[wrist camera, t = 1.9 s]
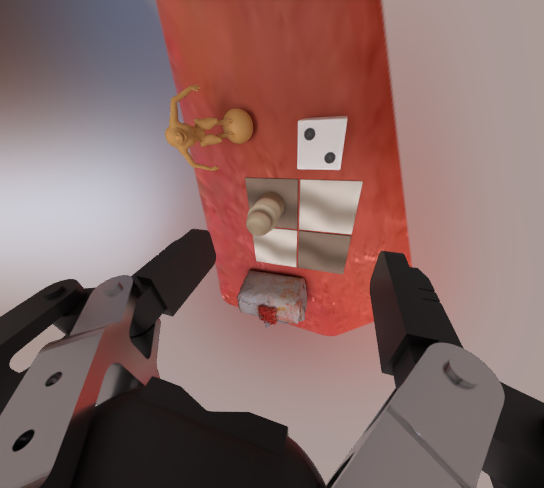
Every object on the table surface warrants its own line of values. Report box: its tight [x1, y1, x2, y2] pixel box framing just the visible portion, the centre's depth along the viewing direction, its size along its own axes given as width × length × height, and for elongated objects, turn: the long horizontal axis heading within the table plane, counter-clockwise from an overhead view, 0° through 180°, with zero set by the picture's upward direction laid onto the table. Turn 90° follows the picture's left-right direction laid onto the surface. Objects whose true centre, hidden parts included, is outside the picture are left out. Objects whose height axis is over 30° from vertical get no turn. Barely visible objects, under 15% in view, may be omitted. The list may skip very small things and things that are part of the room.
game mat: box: [245, 178, 363, 274], centre depth 34 cm, size 18×18×1 cm
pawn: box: [246, 192, 285, 236], centre depth 29 cm, size 4×4×8 cm
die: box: [297, 116, 348, 170], centre depth 23 cm, size 5×5×5 cm
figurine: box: [165, 85, 253, 171], centre depth 23 cm, size 8×6×12 cm
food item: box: [237, 270, 307, 328], centre depth 40 cm, size 14×8×10 cm, turn 95°
